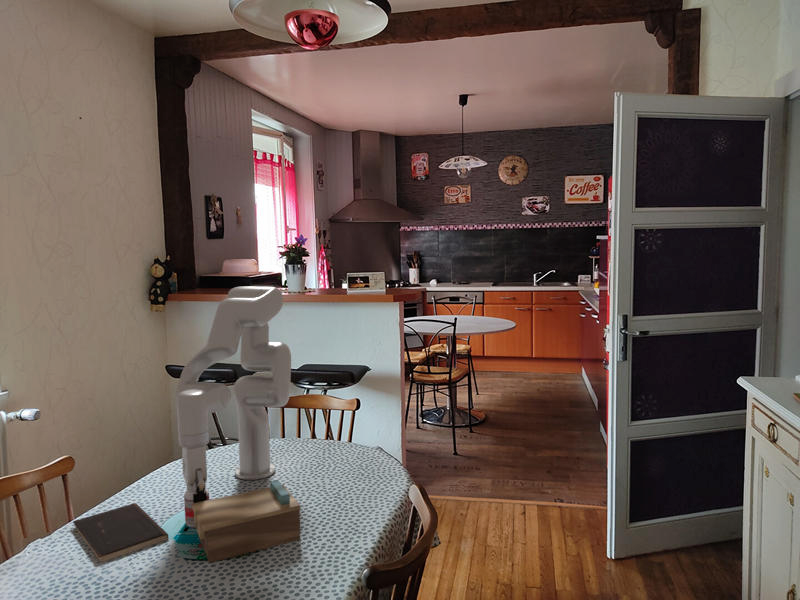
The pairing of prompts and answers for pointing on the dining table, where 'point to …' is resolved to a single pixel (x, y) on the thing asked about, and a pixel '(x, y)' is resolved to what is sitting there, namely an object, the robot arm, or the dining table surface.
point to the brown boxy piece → (251, 536)
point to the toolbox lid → (243, 507)
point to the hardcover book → (119, 531)
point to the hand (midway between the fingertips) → (197, 500)
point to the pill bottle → (190, 504)
